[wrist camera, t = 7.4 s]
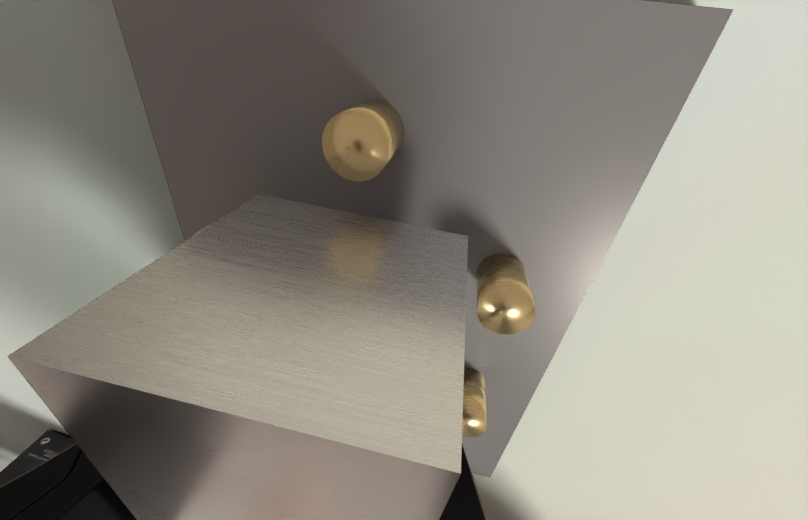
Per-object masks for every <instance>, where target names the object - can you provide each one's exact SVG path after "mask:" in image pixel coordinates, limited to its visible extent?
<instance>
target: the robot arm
mask: <svg viewBox="0 0 808 520" xmlns="http://www.w3.org/2000/svg"><path fill="white" fill-rule="evenodd" d="M0 520H137V519H136V518H135V517H134V515H133V514H132V513H131V512H130V510H129V509H128V508H127V507H126V505H125V504H124V503H123V502H122V500H121V499H120V498H119V496H118V495H117V494H116V493H115V491H114V490H113V489H112V488H111V486H110V485H109V484H108V483H107V481H106V480H105V479H104V478H103V476H102V475H101V474H100V473H99V471H98V470H97V469H96V467H95V466H94V465H93V464H92V462H91V461H90V460H89V459H88V457H87V456H86V455H85V454H84V452H83V451H82V450H81V449H80V447H79V446H78V445H77V443H76V444H74V445H73V446H71V447H69V448H68V449H66V450H64V451H63V452H61V453H59V454H58V455H56V456H54V457H52V458H51V459H49V460H47V461H46V462H44V463H42V464H41V465H39V466H37V467H35V468H34V469H32V470H30V471H28V472H26V473H25V474H23V475H21V476H19V477H17V478H16V479H14V480H12V481H10V482H8V483H6V484H5V485H3V486H1V487H0ZM439 520H487V519H486V516H485V513H484V510H483V507H482V503H481V500H480V497H479V494H478V491H477V488H476V485H475V481H474V478H473V475H472V472H471V469H470V466H469V462H468V459H467V456H466V453H465V450H464V447H463V443H462V455H461V475H460V477H459V479H458V481H457V483H456V485H455V487H454V489H453V491H452V494H451V496H450V498H449V500H448V502H447V504H446V506H445V508H444V510H443V512H442V515H441V517H440V519H439Z"/></svg>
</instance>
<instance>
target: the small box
mask: <svg viewBox="0 0 808 520" xmlns="http://www.w3.org/2000/svg"><path fill="white" fill-rule="evenodd" d="M74 444H76V442H75V441H74V440H73V439H72V438H69V437H66V436H64V435H61V434H58V433H55V432H53V431H49V430H48V431H46V432H45V433H44V434H43V435H42V436H41V437H40V438H39V439H38V440H36V441H35V442H34V443H33V444H32V445H31V446H30V447H29V448H27V449H26V450H25V451H24V452H23V453H22V454H21V455H19V456H18V457H17V458H16V459H15V460H14V461H13V462H12V463H10V464H9V465H8V466H7V467H6V468H5V469H4V470H2V471H1V472H0V487H1V486H3V485H5V484H6V483H8V482H10V481H12V480H14V479H16V478H17V477H19V476H21V475H23V474H25V473H26V472H28V471H30V470H32V469H34V468H35V467H37V466H39V465H41V464H42V463H44V462H46V461H47V460H49V459H51V458H52V457H54V456H56V455H58V454H59V453H61V452H63V451H64V450H66V449H68V448H69V447H71V446H73V445H74Z"/></svg>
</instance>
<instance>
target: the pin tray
mask: <svg viewBox="0 0 808 520" xmlns="http://www.w3.org/2000/svg"><path fill="white" fill-rule="evenodd" d="M112 2H113V5H114V8H115V12H116V15H117V18H118V21H119V25H120V28H121V31H122V35H123V38H124V41H125V45H126V48H127V51H128V54H129V58H130V61H131V64H132V68H133V71H134V74H135V78H136V81H137V84H138V88H139V91H140V94H141V97H142V101H143V104H144V107H145V111H146V114H147V117H148V121H149V124H150V127H151V131H152V134H153V137H154V140H155V144H156V147H157V150H158V154H159V157H160V160H161V164H162V167H163V170H164V174H165V177H166V180H167V183H168V187H169V190H170V193H171V197H172V200H173V203H174V207H175V210H176V213H177V216H178V220H179V223H180V226H181V230H182V233H183V236H184V240H185V241H186V240H188V239H189V238H191V237H193V236H194V235H196V234H197V233H199V232H200V231H202V230H203V229H205V228H206V227H208V226H210V225H211V224H213V223H214V222H216V221H217V220H219V219H220V218H222V217H223V216H225V215H227V214H228V213H230V212H231V211H233V210H234V209H236V208H237V207H239V206H240V205H242V204H244V203H245V202H247V201H248V200H250V199H251V198H253V197H254V196H256V195H257V194H261V195H266V196H271V197H276V198H281V199H286V200H291V201H296V202H301V203H306V204H311V205H316V206H321V207H326V208H331V209H336V210H340V211H345V212H350V213H355V214H360V215H365V216H370V217H375V218H380V219H385V220H390V221H395V222H400V223H405V224H410V225H415V226H420V227H425V228H430V229H435V230H440V231H445V232H450V233H455V234H460V235H465V236H468V255H467V288H466V322H465V355H464V388H463V422H462V443H463V447H464V450H465V453H466V456H467V459H468V462H469V466H470V469H471V472H472V473H475V474H479V475H483V476H487V477H491V475H492V473H493V471H494V469H495V467H496V465H497V463H498V461H499V459H500V457H501V455H502V454H503V452H504V450H505V448H506V446H507V444H508V442H509V440H510V438H511V436H512V434H513V432H514V431H515V429H516V427H517V425H518V423H519V421H520V419H521V417H522V415H523V413H524V411H525V409H526V407H527V406H528V404H529V402H530V400H531V398H532V396H533V394H534V392H535V390H536V388H537V386H538V384H539V382H540V381H541V379H542V377H543V375H544V373H545V371H546V369H547V367H548V365H549V363H550V361H551V359H552V357H553V356H554V354H555V352H556V350H557V348H558V346H559V344H560V342H561V340H562V338H563V336H564V334H565V332H566V331H567V329H568V327H569V325H570V323H571V321H572V319H573V317H574V315H575V313H576V311H577V309H578V307H579V306H580V304H581V302H582V300H583V298H584V296H585V294H586V292H587V290H588V288H589V286H590V284H591V282H592V281H593V279H594V277H595V275H596V273H597V271H598V269H599V267H600V265H601V263H602V261H603V259H604V257H605V256H606V254H607V252H608V250H609V248H610V246H611V244H612V242H613V240H614V238H615V236H616V234H617V232H618V231H619V229H620V227H621V225H622V223H623V221H624V219H625V217H626V215H627V213H628V211H629V209H630V207H631V206H632V204H633V202H634V200H635V198H636V196H637V194H638V192H639V190H640V188H641V186H642V184H643V182H644V181H645V179H646V177H647V175H648V173H649V171H650V169H651V167H652V165H653V163H654V161H655V159H656V157H657V156H658V154H659V152H660V150H661V148H662V146H663V144H664V142H665V140H666V138H667V136H668V134H669V133H670V131H671V129H672V127H673V125H674V123H675V121H676V119H677V117H678V115H679V113H680V111H681V109H682V108H683V106H684V104H685V102H686V100H687V98H688V96H689V94H690V92H691V90H692V88H693V86H694V84H695V83H696V81H697V79H698V77H699V75H700V73H701V71H702V69H703V67H704V65H705V63H706V61H707V59H708V58H709V56H710V54H711V52H712V50H713V48H714V46H715V44H716V42H717V40H718V38H719V36H720V34H721V33H722V31H723V29H724V27H725V25H726V23H727V21H728V19H729V17H730V15H731V13H732V11H733V9H723V8H713V7H703V6H694V5H684V4H674V3H665V2H655V1H645V0H112Z"/></svg>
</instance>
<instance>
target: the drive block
mask: <svg viewBox="0 0 808 520" xmlns="http://www.w3.org/2000/svg"><path fill="white" fill-rule="evenodd" d="M467 255H468V236H465V235H460V234H455V233H450V232H445V231H440V230H435V229H430V228H425V227H420V226H415V225H410V224H405V223H400V222H395V221H390V220H385V219H380V218H375V217H370V216H365V215H360V214H355V213H350V212H345V211H340V210H336V209H331V208H326V207H321V206H316V205H311V204H306V203H301V202H296V201H291V200H286V199H281V198H276V197H271V196H266V195H261V194H257V195H256V196H254V197H253V198H251V199H250V200H248V201H247V202H245V203H244V204H242V205H240V206H239V207H237V208H236V209H234V210H233V211H231V212H230V213H228V214H227V215H225V216H223V217H222V218H220V219H219V220H217V221H216V222H214V223H213V224H211V225H210V226H208V227H206V228H205V229H203V230H202V231H200V232H199V233H197V234H196V235H194V236H193V237H191V238H189V239H188V240H186V241H185V242H183V243H182V244H180V245H179V246H177V247H176V248H174V249H172V250H171V251H169V252H168V253H166V254H165V255H163V256H162V257H160V258H159V259H157V260H155V261H154V262H152V263H151V264H149V265H148V266H146V267H145V268H143V269H142V270H140V271H138V272H137V273H135V274H134V275H132V276H131V277H129V278H128V279H126V280H125V281H123V282H121V283H120V284H118V285H117V286H115V287H114V288H112V289H111V290H109V291H108V292H106V293H104V294H103V295H101V296H100V297H98V298H97V299H95V300H94V301H92V302H91V303H89V304H87V305H86V306H84V307H83V308H81V309H80V310H78V311H77V312H75V313H74V314H72V315H70V316H69V317H67V318H66V319H64V320H63V321H61V322H60V323H58V324H57V325H55V326H53V327H52V328H50V329H49V330H47V331H46V332H44V333H43V334H41V335H40V336H38V337H36V338H35V339H33V340H32V341H30V342H29V343H27V344H26V345H24V346H23V347H21V348H19V349H18V350H16V351H15V352H13V353H12V354H10V355H9V356H8V358H9V359H10V360H11V361H12V363H13V364H14V365H15V367H16V368H17V369H18V370H19V372H20V373H21V374H22V375H23V377H24V378H25V379H26V380H27V382H28V383H29V384H30V385H31V387H32V388H33V389H34V390H35V392H36V393H37V394H38V396H39V397H40V398H41V399H42V401H43V402H44V403H45V404H46V406H47V407H48V408H49V409H50V411H51V412H52V413H53V414H54V416H55V417H56V418H57V420H58V421H59V422H60V423H61V425H62V426H63V427H64V428H65V430H66V431H67V432H68V433H69V435H70V436H71V437H72V438H73V440H74V441H75V442H76V443H77V445H78V446H79V447H80V449H81V450H82V451H83V452H84V454H85V455H86V456H87V457H88V459H89V460H90V461H91V462H92V464H93V465H94V466H95V467H96V469H97V470H98V471H99V473H100V474H101V475H102V476H103V478H104V479H105V480H106V481H107V483H108V484H109V485H110V486H111V488H112V489H113V490H114V491H115V493H116V494H117V495H118V496H119V498H120V499H121V500H122V502H123V503H124V504H125V505H126V507H127V508H128V509H129V510H130V512H131V513H132V514H133V515H134V517H135V518H136V519H137V520H439V519H440V517H441V515H442V512H443V510H444V508H445V506H446V504H447V502H448V500H449V498H450V496H451V494H452V491H453V489H454V487H455V485H456V483H457V481H458V479H459V477H460V475H461V455H462V422H463V388H464V355H465V322H466V288H467Z"/></svg>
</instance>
